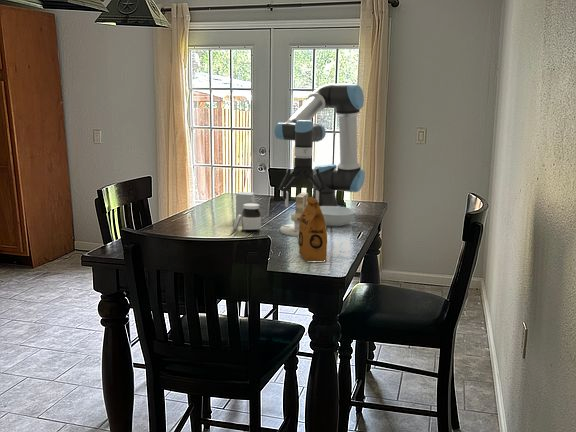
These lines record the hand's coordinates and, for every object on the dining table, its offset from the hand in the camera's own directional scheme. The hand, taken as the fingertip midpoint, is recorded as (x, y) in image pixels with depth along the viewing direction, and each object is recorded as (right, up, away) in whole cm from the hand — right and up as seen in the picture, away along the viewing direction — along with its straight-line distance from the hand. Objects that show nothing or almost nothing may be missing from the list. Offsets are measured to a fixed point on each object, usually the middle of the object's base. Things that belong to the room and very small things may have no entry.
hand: (301, 206), depth 247 cm
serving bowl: (+15, -8, +18) cm, 25 cm away
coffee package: (+3, -20, -39) cm, 43 cm away
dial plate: (0, -11, +2) cm, 11 cm away
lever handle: (0, -6, +1) cm, 6 cm away
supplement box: (-26, -6, +24) cm, 36 cm away
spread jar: (-24, -11, +2) cm, 26 cm away
